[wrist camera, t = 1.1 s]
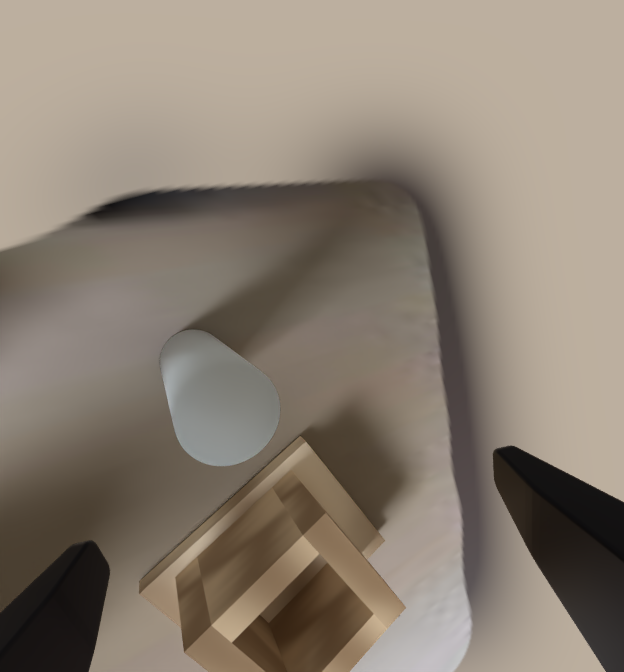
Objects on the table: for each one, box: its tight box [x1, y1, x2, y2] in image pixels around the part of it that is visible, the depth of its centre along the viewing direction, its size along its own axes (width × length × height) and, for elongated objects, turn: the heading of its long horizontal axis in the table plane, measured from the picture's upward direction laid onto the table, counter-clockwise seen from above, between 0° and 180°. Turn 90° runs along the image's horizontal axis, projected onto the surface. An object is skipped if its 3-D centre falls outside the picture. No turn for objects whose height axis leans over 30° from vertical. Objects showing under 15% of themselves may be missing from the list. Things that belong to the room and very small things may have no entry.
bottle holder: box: [139, 436, 406, 672], centre depth 23 cm, size 12×10×6 cm
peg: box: [160, 329, 280, 466], centre depth 18 cm, size 4×4×10 cm
